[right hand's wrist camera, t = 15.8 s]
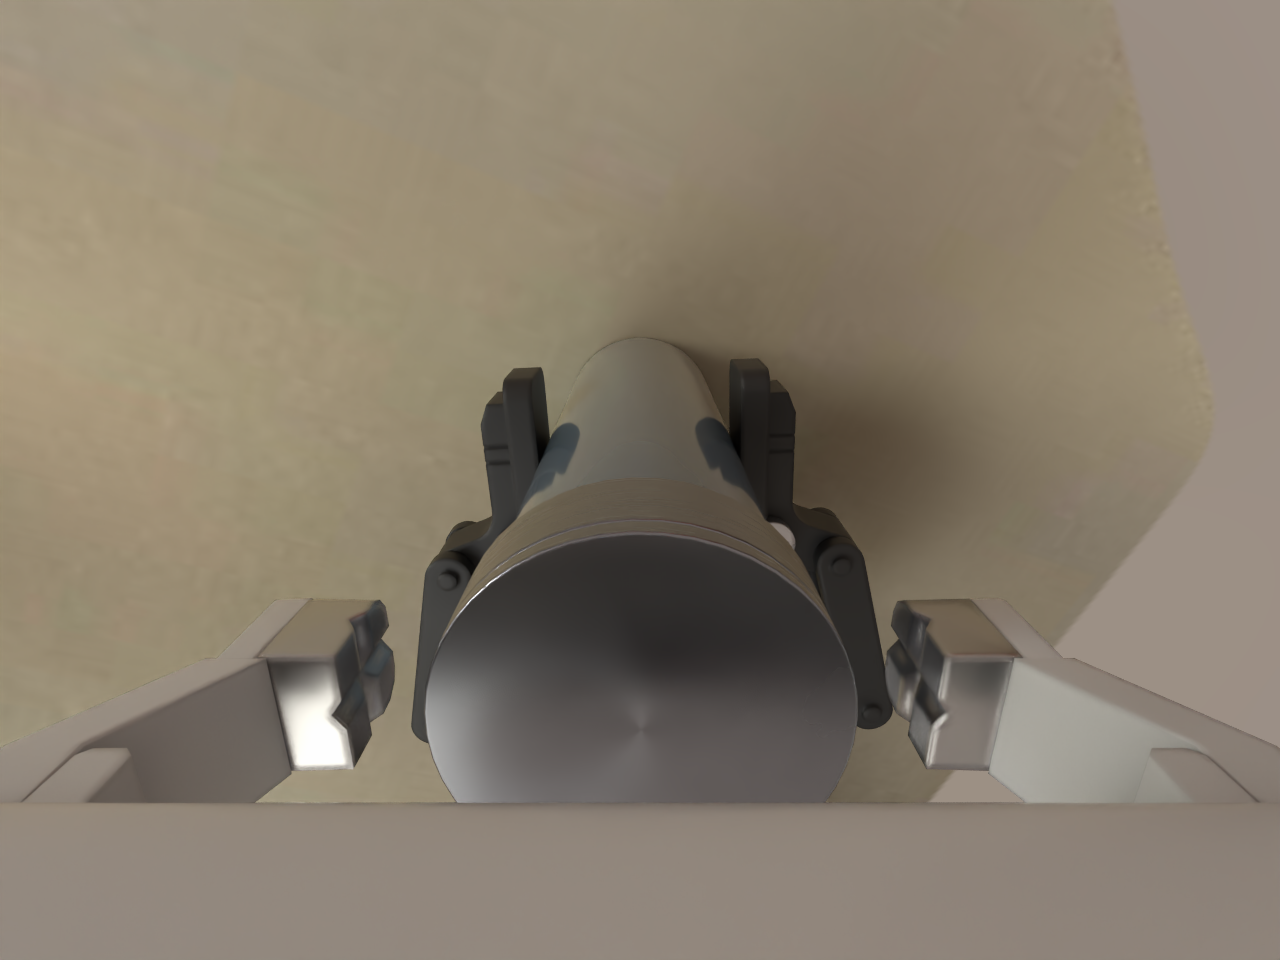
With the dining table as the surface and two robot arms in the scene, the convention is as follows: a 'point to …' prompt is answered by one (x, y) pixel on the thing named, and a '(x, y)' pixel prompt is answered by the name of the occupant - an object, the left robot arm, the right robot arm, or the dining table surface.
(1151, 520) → the dining table surface
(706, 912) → the right robot arm
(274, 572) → the dining table surface
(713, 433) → the bottle
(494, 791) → the lid
